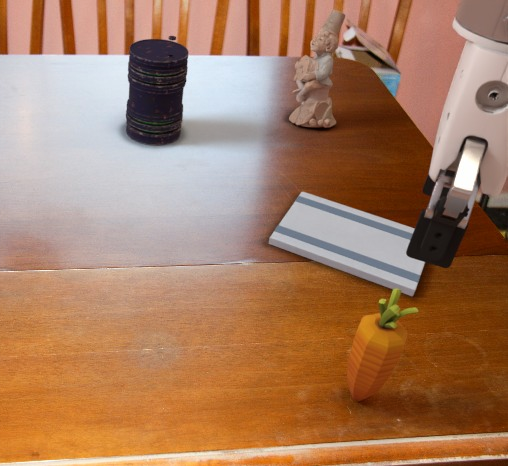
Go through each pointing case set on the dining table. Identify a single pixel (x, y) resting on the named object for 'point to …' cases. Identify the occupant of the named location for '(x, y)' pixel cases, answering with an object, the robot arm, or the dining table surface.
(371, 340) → the carrot
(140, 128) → the dark blue cylinder
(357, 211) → the towel
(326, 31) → the figurine
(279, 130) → the dining table surface
